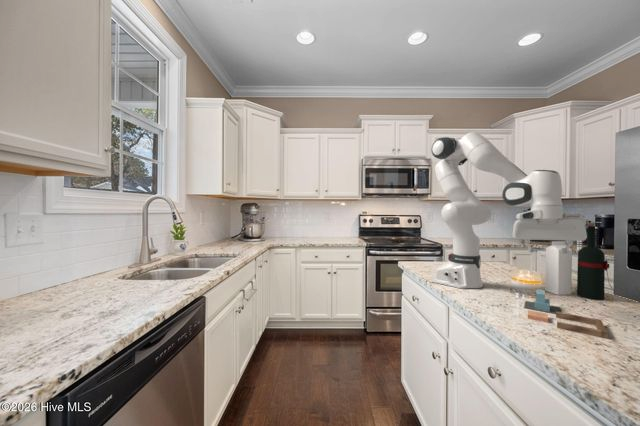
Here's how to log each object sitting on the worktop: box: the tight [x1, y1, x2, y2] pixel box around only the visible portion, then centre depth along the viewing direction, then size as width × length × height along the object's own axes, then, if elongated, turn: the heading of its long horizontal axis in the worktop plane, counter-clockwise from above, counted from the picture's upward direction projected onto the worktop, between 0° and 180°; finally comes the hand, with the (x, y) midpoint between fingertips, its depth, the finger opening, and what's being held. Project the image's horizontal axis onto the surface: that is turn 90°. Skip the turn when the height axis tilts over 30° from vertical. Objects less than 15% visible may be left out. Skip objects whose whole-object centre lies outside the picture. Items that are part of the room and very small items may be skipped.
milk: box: [544, 240, 573, 296], centre depth 114 cm, size 6×6×22 cm
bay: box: [555, 311, 609, 340], centre depth 80 cm, size 10×11×2 cm
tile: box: [527, 309, 549, 324], centre depth 86 cm, size 5×5×2 cm
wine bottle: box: [576, 222, 614, 301], centre depth 108 cm, size 8×10×30 cm
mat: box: [523, 300, 562, 315], centre depth 95 cm, size 10×10×1 cm
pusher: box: [534, 289, 551, 312], centre depth 95 cm, size 4×7×6 cm, turn 140°
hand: (548, 252), depth 96 cm, fingers open, 8 cm apart
